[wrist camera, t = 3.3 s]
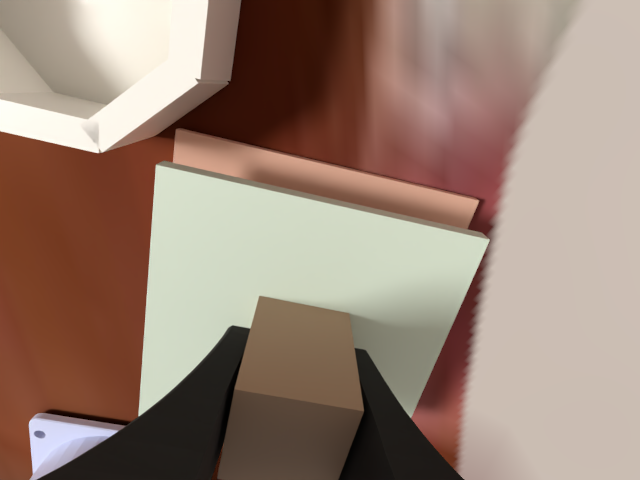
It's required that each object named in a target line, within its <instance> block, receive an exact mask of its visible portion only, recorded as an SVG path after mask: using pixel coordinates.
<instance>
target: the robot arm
mask: <svg viewBox="0 0 640 480" xmlns="http://www.w3.org/2000/svg"><path fill="white" fill-rule="evenodd" d="M250 329H251V328H245V327H240V326H234V325H232V326H230V327H228V329H227V330H226V332H225V333H224V335H223V336H222V338H221V339H220V340H219V342H218V343H217V344H216V345H215V346H214V348H213V349H212V350H211V351H210V352H209V353H208V354H207V356H206V357H205V358H204V359H203V360H202V361H201V362H200V363H199V364H198V365H197V366H196V367H195V368H194V369H193V370H192V371H191V372H190V373H189V374H188V375H187V376H186V377H185V378H184V379H183V380H182V381H181V382H180V383H179V384H178V385H177V386H176V387H174V388H173V389H172V390H171V391H170V392H169V393H168V394H167V395H165V396H164V397H163V398H162V399H161V400H159V401H158V402H157V403H156V404H154V405H153V406H152V407H151V408H149V409H148V410H147V411H146V412H144V413H143V414H141V415H140V416H139V417H137V418H136V419H135V420H133V421H132V422H131V423H129V424H128V425H126V426H124V425H117V424H111V423H105V422H98V421H92V420H85V419H79V418H73V417H66V416H60V415H53V414H47V413H38V414H36V415H35V416H34V417H33V418H32V419H31V420H30V422H29V432H30V443H31V455H32V467H33V476H32V477H31V478H30V480H211V478H212V475H213V472H214V469H215V466H216V463H217V461H218V458H219V455H220V452H221V449H222V446H223V443H224V440H225V435H226V430H227V425H228V420H229V414H230V409H231V404H232V399H233V394H234V389H235V385H236V381H237V377H238V374H239V370H240V366H241V362H242V359H243V355H244V351H245V347H246V344H247V340H248V336H249V332H250ZM355 355H356V361H357V368H358V374H359V381H360V388H361V394H362V401H363V407H364V413H363V415H362V418H361V421H360V423H359V426H358V429H357V431H356V434H355V437H354V439H353V442H352V445H351V447H350V450H349V453H348V455H347V458H346V461H345V463H344V466H343V469H342V471H341V474H340V477H339V479H338V480H464V479H463V478H462V477H461V476H460V475H459V474H458V473H457V472H456V471H455V470H454V469H453V468H452V467H451V466H450V465H449V464H448V462H447V461H446V460H445V459H444V458H443V457H442V456H441V455H440V454H439V452H438V451H437V450H436V449H435V448H434V447H433V445H432V444H431V443H430V442H429V441H428V440H427V438H426V437H425V436H424V435H423V434H422V432H421V431H420V430H419V429H418V427H417V426H416V425H415V423H414V422H413V421H412V419H411V418H410V417H409V415H408V414H407V413H406V411H405V410H404V408H403V407H402V406H401V404H400V403H399V401H398V400H397V398H396V397H395V395H394V394H393V392H392V391H391V389H390V388H389V386H388V385H387V383H386V382H385V380H384V378H383V377H382V375H381V374H380V372H379V370H378V369H377V367H376V365H375V364H374V362H373V361H372V359H371V357H370V356H369V354H368V353H367V351H366V350H364V349H359V348H355Z"/></svg>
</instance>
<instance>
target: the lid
mask: <svg viewBox="0 0 640 480" xmlns="http://www.w3.org/2000/svg"><path fill="white" fill-rule="evenodd" d="M489 241H490V239H489V238H487V237H486V236H485V235H484V234H483V233H481V232H477V231H472V230H468V229H464V228H459V227H455V226H450V225H446V224H441V223H437V222H433V221H428V220H424V219H419V218H415V217H411V216H406V215H402V214H397V213H393V212H388V211H384V210H380V209H375V208H371V207H366V206H362V205H358V204H353V203H349V202H344V201H340V200H335V199H331V198H327V197H322V196H318V195H313V194H309V193H305V192H300V191H296V190H291V189H287V188H282V187H278V186H274V185H269V184H265V183H260V182H256V181H252V180H247V179H243V178H238V177H234V176H229V175H225V174H221V173H216V172H212V171H207V170H203V169H199V168H194V167H190V166H185V165H181V164H176V163H172V162H168V161H163V162H160V163H158V164H156V172H155V187H154V201H153V215H152V230H151V244H150V259H149V273H148V287H147V302H146V316H145V330H144V345H143V359H142V373H141V388H140V402H139V416H140V415H141V414H143V413H144V412H146V411H147V410H148V409H149V408H151V407H152V406H153V405H154V404H156V403H157V402H158V401H159V400H161V399H162V398H163V397H164V396H165V395H167V394H168V393H169V392H170V391H171V390H172V389H173V388H174V387H176V386H177V385H178V384H179V383H180V382H181V381H182V380H183V379H184V378H185V377H186V376H187V375H188V374H189V373H190V372H191V371H192V370H193V369H194V368H195V367H196V366H197V365H198V364H199V363H200V362H201V361H202V360H203V359H204V358H205V357H206V356H207V354H208V353H209V352H210V351H211V350H212V349H213V348H214V346H215V345H216V344H217V343H218V342H219V340H220V339H221V338H222V336H223V335H224V333H225V332H226V330H227V329H228V327H230V326H232V325H234V326H240V327H245V328H251V329H250V332H249V336H248V340H247V344H246V347H245V351H244V355H243V359H242V362H241V366H240V370H239V374H238V377H237V381H236V385H235V389H234V394H233V399H232V404H231V409H230V414H229V420H228V425H227V430H226V435H225V440H224V445H223V451H222V456H221V461H220V466H219V471H218V476H217V479H222V480H338V479H339V477H340V474H341V471H342V469H343V466H344V463H345V461H346V458H347V455H348V453H349V450H350V447H351V445H352V442H353V439H354V437H355V434H356V431H357V429H358V426H359V423H360V421H361V418H362V415H363V413H364V407H363V401H362V394H361V388H360V381H359V374H358V368H357V361H356V355H355V348H359V349H364V350H366V351H367V353H368V354H369V356H370V357H371V359H372V361H373V362H374V364H375V365H376V367H377V369H378V370H379V372H380V374H381V375H382V377H383V378H384V380H385V382H386V383H387V385H388V386H389V388H390V389H391V391H392V392H393V394H394V395H395V397H396V398H397V400H398V401H399V403H400V404H401V406H402V407H403V408H404V410H405V411H406V413H407V414H408V415H409V417H410V418H411V417H412V415H413V412H414V410H415V408H416V406H417V403H418V401H419V399H420V397H421V394H422V392H423V390H424V388H425V385H426V383H427V381H428V379H429V376H430V374H431V372H432V370H433V367H434V365H435V363H436V361H437V358H438V356H439V354H440V352H441V349H442V347H443V345H444V343H445V340H446V338H447V336H448V334H449V331H450V329H451V327H452V325H453V322H454V320H455V318H456V315H457V313H458V311H459V309H460V306H461V304H462V302H463V300H464V297H465V295H466V293H467V291H468V288H469V286H470V284H471V282H472V279H473V277H474V275H475V273H476V270H477V268H478V266H479V264H480V261H481V259H482V257H483V255H484V252H485V250H486V248H487V246H488V243H489ZM139 416H138V417H139Z"/></svg>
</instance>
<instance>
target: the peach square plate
mask: <svg viewBox="0 0 640 480" xmlns="http://www.w3.org/2000/svg"><path fill="white" fill-rule="evenodd" d="M173 163H176V164H181V165H185V166H190V167H194V168H199V169H203V170H207V171H212V172H216V173H221V174H225V175H229V176H234V177H238V178H243V179H247V180H252V181H256V182H260V183H265V184H269V185H274V186H278V187H282V188H287V189H291V190H296V191H300V192H305V193H309V194H313V195H318V196H322V197H327V198H331V199H335V200H340V201H344V202H349V203H353V204H358V205H362V206H366V207H371V208H375V209H380V210H384V211H388V212H393V213H397V214H402V215H406V216H411V217H415V218H419V219H424V220H428V221H433V222H437V223H441V224H446V225H450V226H455V227H459V228H464V229H468V227H469V224H470V222H471V219H472V217H473V215H474V212H475V210H476V207H477V205H478V202H479V200H478V199H476V198H474V197H470V196H466V195H462V194H457V193H453V192H449V191H445V190H440V189H436V188H432V187H428V186H424V185H419V184H415V183H411V182H407V181H402V180H398V179H394V178H390V177H385V176H381V175H377V174H373V173H368V172H364V171H360V170H356V169H351V168H347V167H343V166H339V165H334V164H330V163H326V162H322V161H318V160H313V159H309V158H305V157H301V156H296V155H292V154H288V153H284V152H279V151H275V150H271V149H267V148H262V147H258V146H254V145H250V144H245V143H241V142H237V141H233V140H228V139H224V138H220V137H216V136H212V135H207V134H203V133H199V132H195V131H190V130H186V129H182V128H178V129H176V133H175V145H174V157H173Z"/></svg>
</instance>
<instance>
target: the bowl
mask: <svg viewBox="0 0 640 480" xmlns="http://www.w3.org/2000/svg"><path fill="white" fill-rule="evenodd" d="M240 6H241V0H0V131H2V132H7V133H11V134H15V135H20V136H24V137H29V138H33V139H38V140H42V141H47V142H51V143H56V144H60V145H64V146H69V147H73V148H78V149H82V150H87V151H91V152H96V153H101V152H102V153H103V152H106V151H109V150H112V149H115V148H118V147H122V146H125V145H128V144H131V143H134V142H138V141H141V140H144V139H147V138H150V137H153V136H156V135H157V134H159V133H160V132H162V131H163V130H164V129H166V128H167V127H169V126H170V125H172V124H173V123H174V122H176V121H177V120H179V119H180V118H181V117H183V116H184V115H186V114H187V113H188V112H190V111H191V110H193V109H194V108H195V107H197V106H198V105H200V104H201V103H203V102H204V101H205V100H207V99H208V98H210V97H211V96H212V95H214V94H215V93H217V92H218V91H219V90H221V89H222V88H224V87H225V86H226V85H228V84H229V83H228V82H227V81H231V74H232V66H233V59H234V51H235V43H236V36H237V28H238V21H239V13H240Z"/></svg>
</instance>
